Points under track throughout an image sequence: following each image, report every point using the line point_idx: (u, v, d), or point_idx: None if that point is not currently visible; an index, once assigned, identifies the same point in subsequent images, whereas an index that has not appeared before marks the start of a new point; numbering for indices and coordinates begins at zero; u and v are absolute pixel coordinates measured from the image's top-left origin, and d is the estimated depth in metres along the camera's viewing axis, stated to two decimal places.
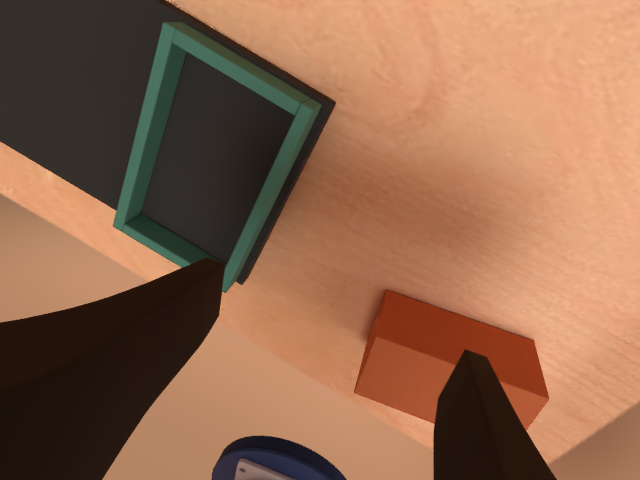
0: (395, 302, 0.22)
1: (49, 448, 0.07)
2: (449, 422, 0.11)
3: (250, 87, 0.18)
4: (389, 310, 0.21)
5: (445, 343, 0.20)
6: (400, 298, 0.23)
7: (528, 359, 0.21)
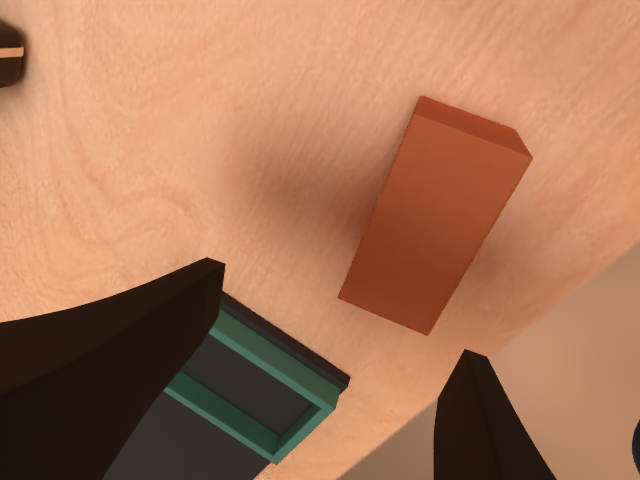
0: None
1: (49, 448, 0.07)
2: (449, 422, 0.11)
3: None
4: None
5: None
6: None
7: None
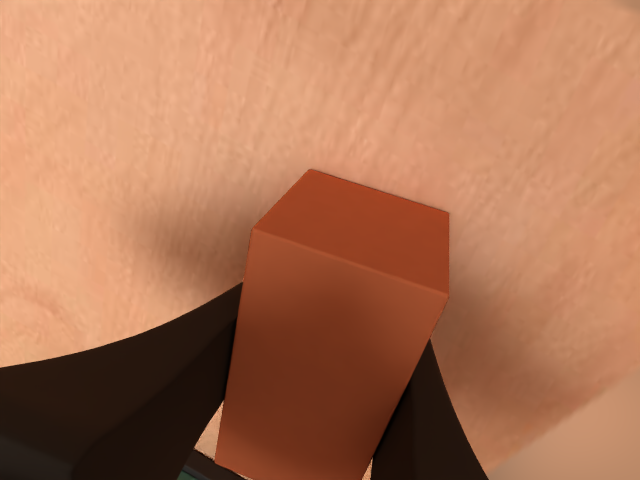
0: None
1: None
2: None
3: None
4: None
5: None
6: None
7: None
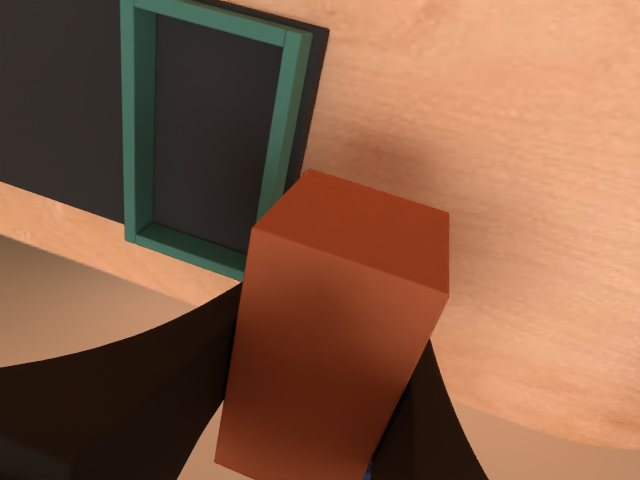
0: None
1: None
2: None
3: (226, 29, 0.15)
4: None
5: None
6: None
7: None
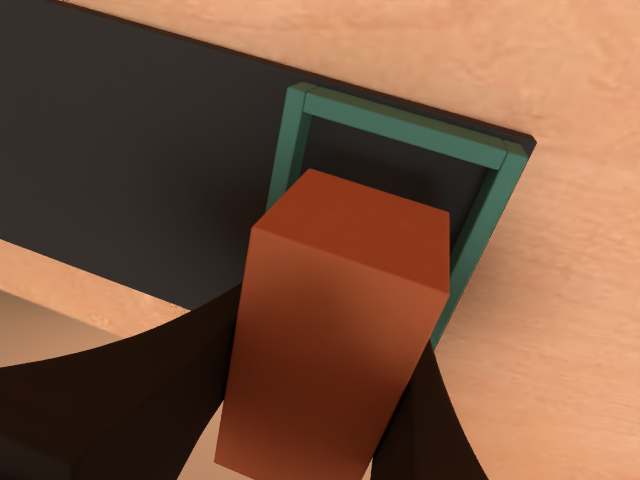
0: None
1: None
2: None
3: (425, 146, 0.12)
4: None
5: None
6: None
7: None
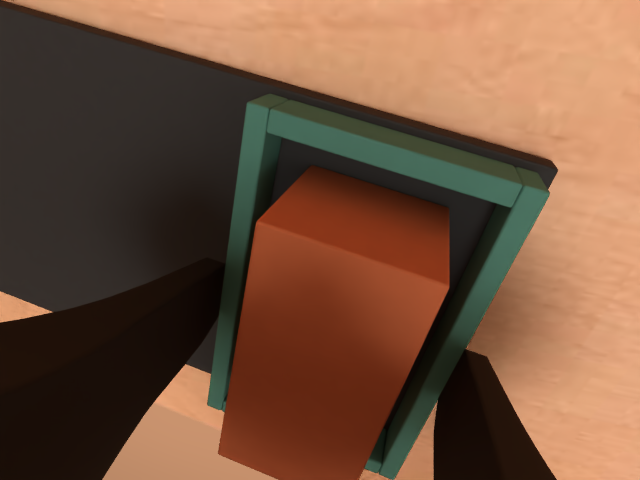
0: None
1: (49, 448, 0.07)
2: (449, 422, 0.11)
3: (418, 176, 0.10)
4: None
5: None
6: None
7: None
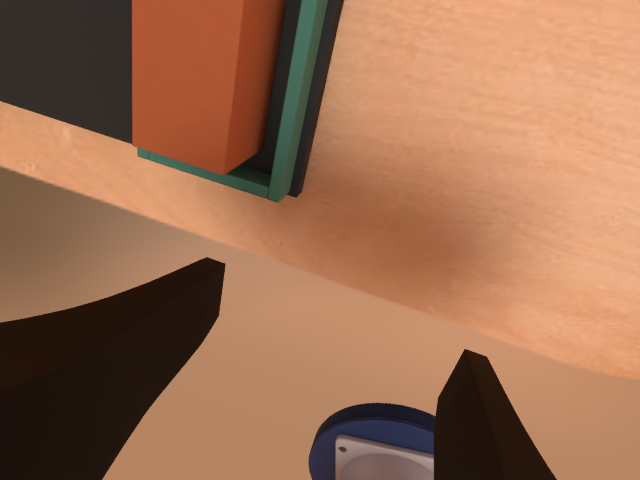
0: None
1: (49, 448, 0.07)
2: (449, 421, 0.11)
3: None
4: None
5: None
6: None
7: None
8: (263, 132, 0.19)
